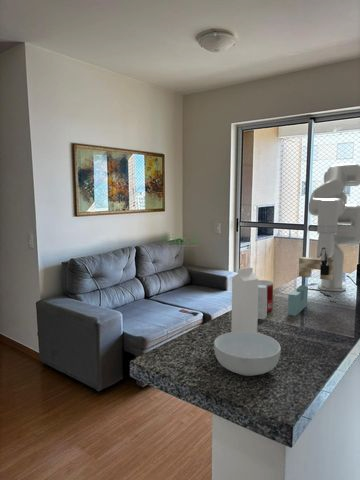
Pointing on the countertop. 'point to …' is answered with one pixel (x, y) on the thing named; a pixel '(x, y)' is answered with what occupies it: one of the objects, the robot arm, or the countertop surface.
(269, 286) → the canned food
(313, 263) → the beige flat block
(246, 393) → the countertop surface
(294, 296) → the light blue block
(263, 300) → the skincare box
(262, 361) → the cereal bowl
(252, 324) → the milk
